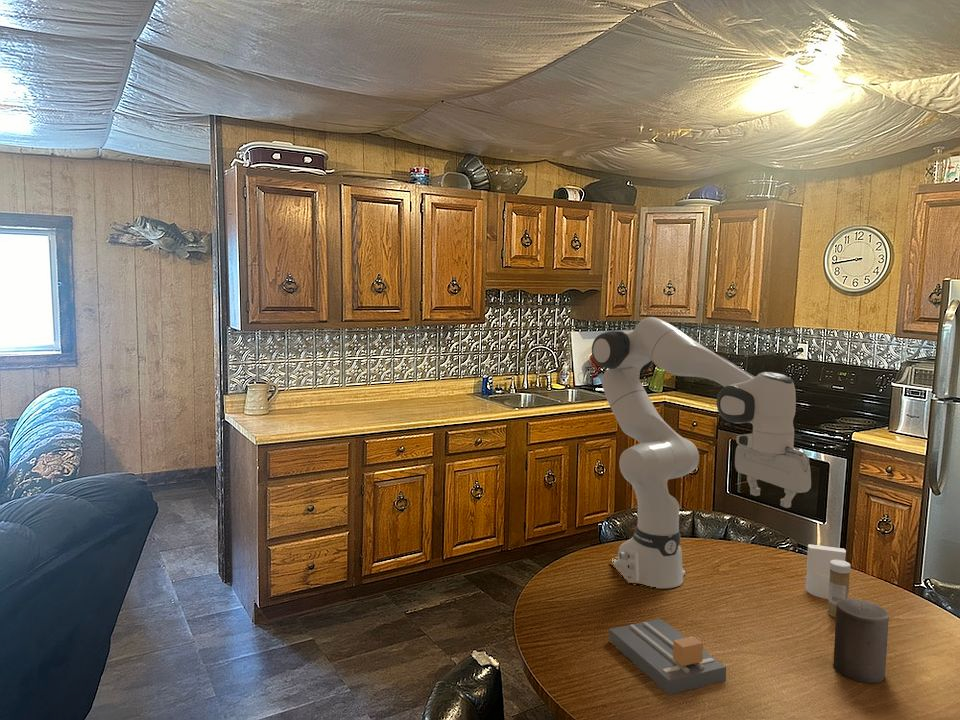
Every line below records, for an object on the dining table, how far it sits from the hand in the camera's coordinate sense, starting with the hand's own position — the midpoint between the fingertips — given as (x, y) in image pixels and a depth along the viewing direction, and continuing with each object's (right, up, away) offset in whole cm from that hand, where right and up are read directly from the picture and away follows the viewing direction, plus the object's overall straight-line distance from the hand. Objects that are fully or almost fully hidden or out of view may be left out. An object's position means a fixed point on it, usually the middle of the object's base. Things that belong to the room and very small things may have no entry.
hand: (769, 500), depth 157 cm
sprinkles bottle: (+21, -30, +9) cm, 38 cm away
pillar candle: (+12, -33, -16) cm, 38 cm away
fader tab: (-25, -30, -19) cm, 43 cm away
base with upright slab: (+24, -29, +22) cm, 44 cm away
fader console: (-28, -32, -12) cm, 44 cm away
